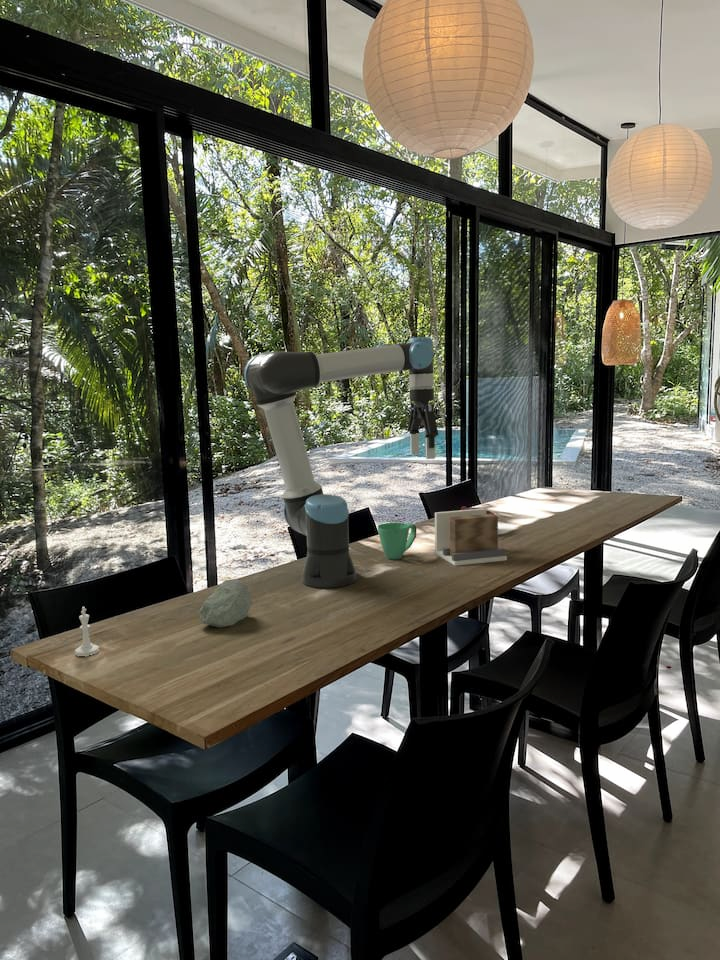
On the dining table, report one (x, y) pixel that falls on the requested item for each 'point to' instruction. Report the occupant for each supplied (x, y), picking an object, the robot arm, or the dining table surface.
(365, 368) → the robot arm
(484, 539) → the door slab
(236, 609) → the decorative stone
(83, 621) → the chess piece
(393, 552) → the mug
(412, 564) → the dining table surface
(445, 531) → the track sill
